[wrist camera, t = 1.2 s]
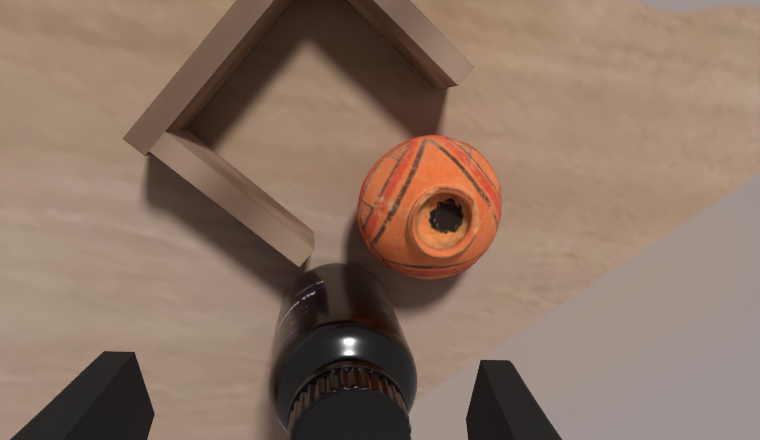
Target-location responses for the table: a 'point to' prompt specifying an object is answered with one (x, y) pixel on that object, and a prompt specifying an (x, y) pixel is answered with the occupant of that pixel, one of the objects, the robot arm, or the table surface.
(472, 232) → the pot
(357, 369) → the supplement bottle
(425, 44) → the cradle
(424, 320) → the table surface
